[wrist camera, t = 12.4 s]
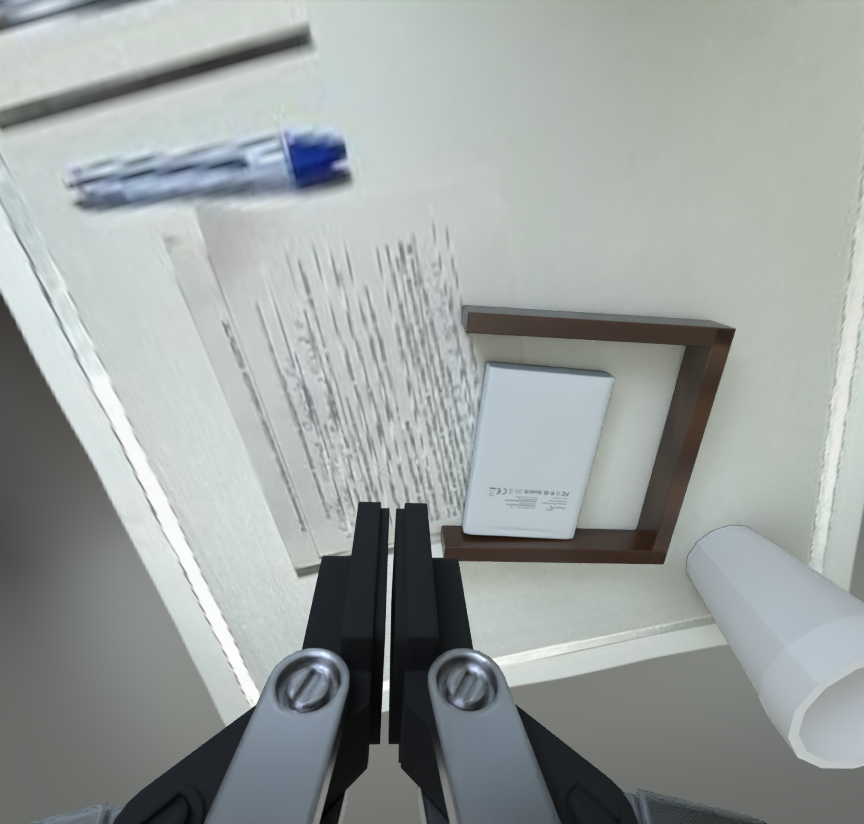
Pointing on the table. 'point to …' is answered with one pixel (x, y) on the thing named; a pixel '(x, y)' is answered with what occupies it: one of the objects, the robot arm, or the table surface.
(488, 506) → the hard drive
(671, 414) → the dock
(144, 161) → the table surface
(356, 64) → the table surface
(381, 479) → the table surface
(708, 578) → the foam cup
